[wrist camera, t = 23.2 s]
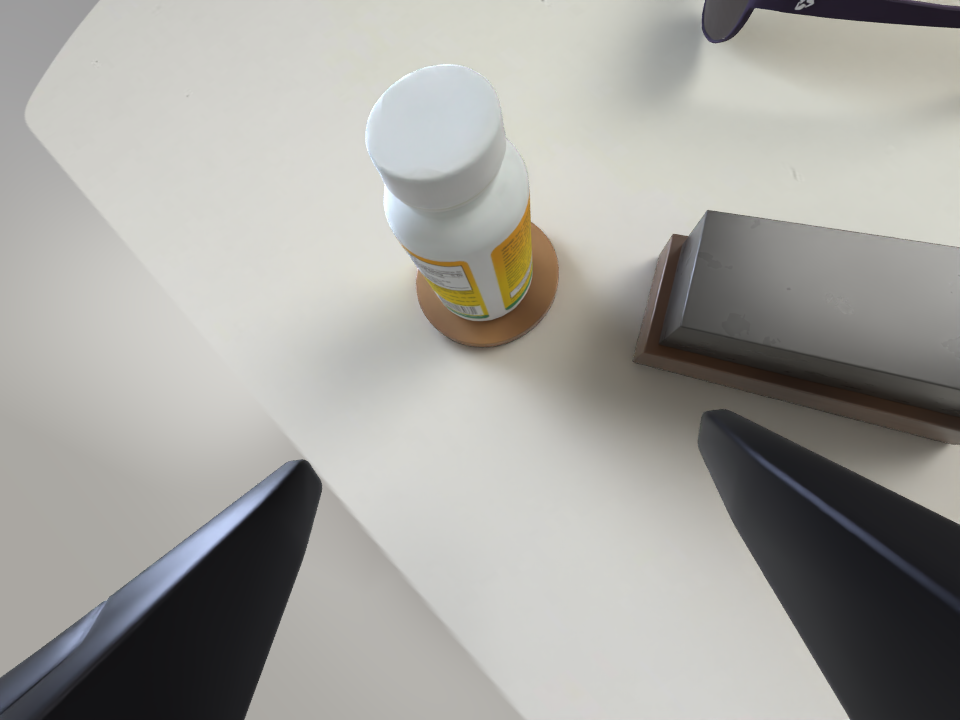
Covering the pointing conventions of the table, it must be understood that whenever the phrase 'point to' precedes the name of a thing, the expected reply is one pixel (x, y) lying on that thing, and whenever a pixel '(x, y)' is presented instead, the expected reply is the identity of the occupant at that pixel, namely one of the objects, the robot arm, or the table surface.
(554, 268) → the cork coaster
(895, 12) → the sunglasses
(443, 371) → the table surface
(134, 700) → the robot arm
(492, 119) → the supplement bottle
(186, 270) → the table surface
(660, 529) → the table surface
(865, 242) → the sharpening stone
